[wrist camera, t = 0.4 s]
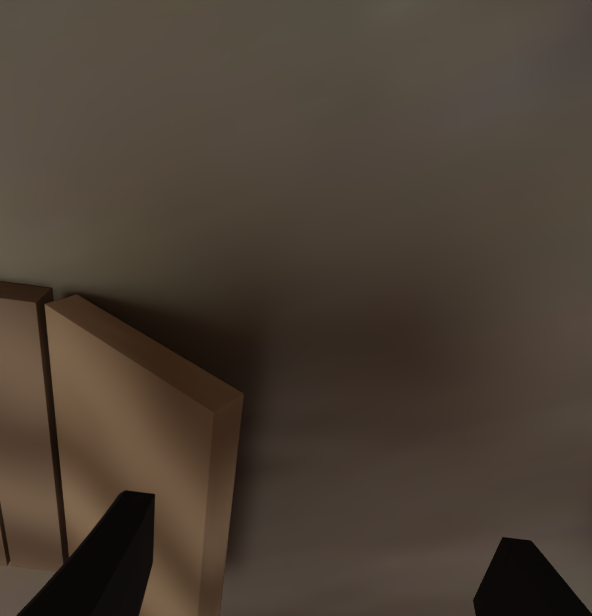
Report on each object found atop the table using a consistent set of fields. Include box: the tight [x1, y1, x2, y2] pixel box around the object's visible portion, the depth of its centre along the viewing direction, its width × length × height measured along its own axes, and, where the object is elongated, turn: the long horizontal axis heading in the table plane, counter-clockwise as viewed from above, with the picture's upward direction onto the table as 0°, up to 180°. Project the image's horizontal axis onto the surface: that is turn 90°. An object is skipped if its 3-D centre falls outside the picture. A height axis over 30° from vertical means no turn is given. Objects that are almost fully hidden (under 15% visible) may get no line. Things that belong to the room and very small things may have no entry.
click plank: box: [45, 295, 244, 616], centre depth 19 cm, size 14×8×1 cm
